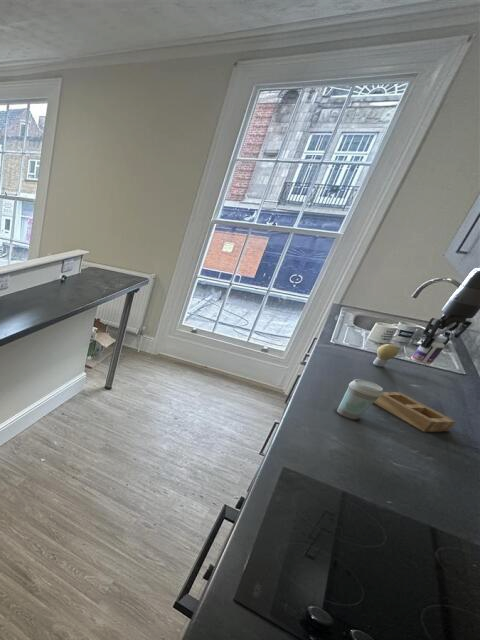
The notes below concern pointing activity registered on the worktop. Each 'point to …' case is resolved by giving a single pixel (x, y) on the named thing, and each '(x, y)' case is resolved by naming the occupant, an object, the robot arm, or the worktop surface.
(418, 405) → the tray
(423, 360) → the pill bottle
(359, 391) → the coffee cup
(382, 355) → the light bulb
